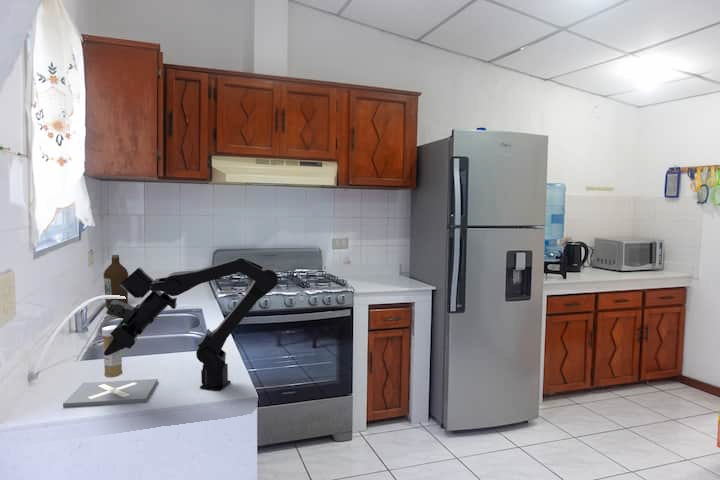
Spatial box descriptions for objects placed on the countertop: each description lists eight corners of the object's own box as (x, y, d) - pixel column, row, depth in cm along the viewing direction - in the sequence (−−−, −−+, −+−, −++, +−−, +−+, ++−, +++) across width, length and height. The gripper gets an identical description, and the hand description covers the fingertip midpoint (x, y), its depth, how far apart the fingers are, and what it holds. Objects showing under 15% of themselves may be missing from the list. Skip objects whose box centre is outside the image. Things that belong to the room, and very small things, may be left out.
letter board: (157, 382, 143) (157, 378, 143) (146, 402, 129) (145, 398, 129) (83, 386, 139) (83, 382, 139) (63, 407, 126) (62, 403, 126)
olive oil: (123, 303, 245) (122, 253, 242) (132, 306, 237) (131, 255, 235) (101, 306, 237) (99, 255, 235) (109, 310, 230) (107, 257, 227)
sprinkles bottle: (101, 375, 134) (98, 327, 132) (118, 370, 137) (116, 323, 136) (108, 379, 131) (106, 330, 129) (126, 374, 134) (123, 327, 133)
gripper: (132, 284, 142) (92, 324, 140) (118, 297, 124) (71, 343, 122) (162, 309, 145) (123, 348, 143) (152, 325, 127) (107, 371, 125)
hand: (107, 351), depth 133 cm, fingers closed on sprinkles bottle, 4 cm apart
